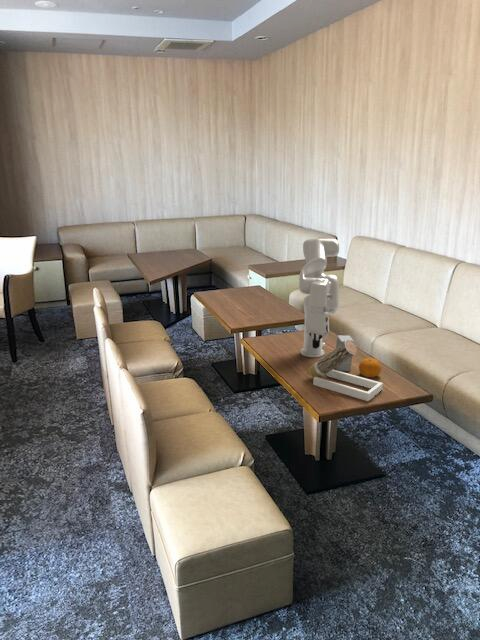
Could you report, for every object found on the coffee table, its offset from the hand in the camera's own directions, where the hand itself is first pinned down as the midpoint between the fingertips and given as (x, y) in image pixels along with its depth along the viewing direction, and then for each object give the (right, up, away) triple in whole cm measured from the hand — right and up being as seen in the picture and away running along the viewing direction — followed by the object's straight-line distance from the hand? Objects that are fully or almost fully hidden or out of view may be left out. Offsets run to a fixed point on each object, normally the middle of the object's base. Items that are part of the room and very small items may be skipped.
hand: (315, 347), depth 242 cm
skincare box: (+16, -11, +16) cm, 25 cm away
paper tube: (0, -12, +4) cm, 13 cm away
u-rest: (+13, -18, -5) cm, 22 cm away
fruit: (+27, -14, +8) cm, 31 cm away
